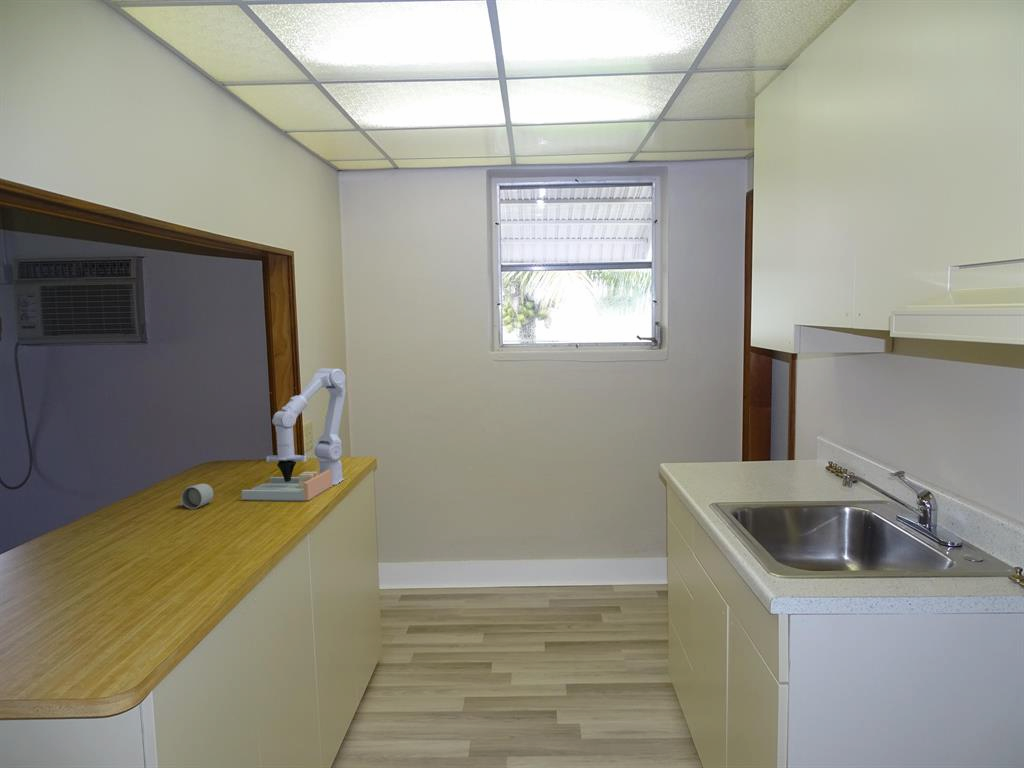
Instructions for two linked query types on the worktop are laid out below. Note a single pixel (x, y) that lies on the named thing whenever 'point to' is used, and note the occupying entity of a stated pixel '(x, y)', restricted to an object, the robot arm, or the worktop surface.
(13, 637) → the worktop surface
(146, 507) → the worktop surface
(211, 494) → the ceramic mug
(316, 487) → the box
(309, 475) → the birch block
